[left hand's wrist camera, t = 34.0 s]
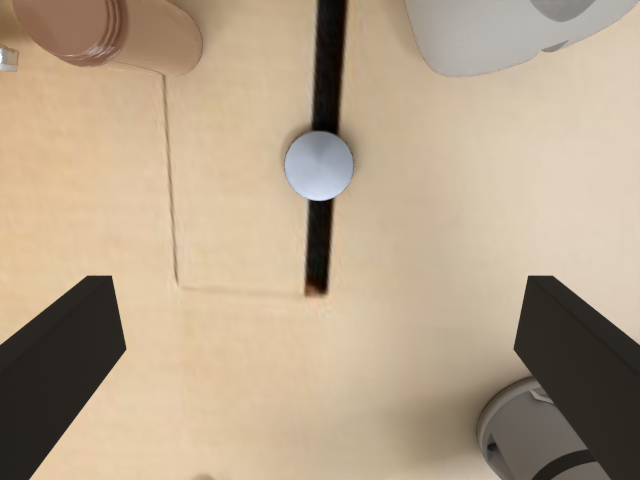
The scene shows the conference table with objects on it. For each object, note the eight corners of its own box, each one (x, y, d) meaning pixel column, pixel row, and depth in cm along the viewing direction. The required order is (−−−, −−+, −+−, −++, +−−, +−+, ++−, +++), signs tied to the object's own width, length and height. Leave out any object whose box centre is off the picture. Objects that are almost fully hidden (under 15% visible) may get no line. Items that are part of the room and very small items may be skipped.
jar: (186, 88, 35) (92, 87, 21) (128, 53, 34) (-13, 26, 20) (213, 29, 34) (132, -16, 19) (153, -9, 33) (20, -88, 18)
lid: (359, 135, 37) (361, 138, 35) (344, 202, 39) (345, 207, 37) (291, 122, 36) (290, 123, 35) (280, 190, 39) (278, 194, 37)
